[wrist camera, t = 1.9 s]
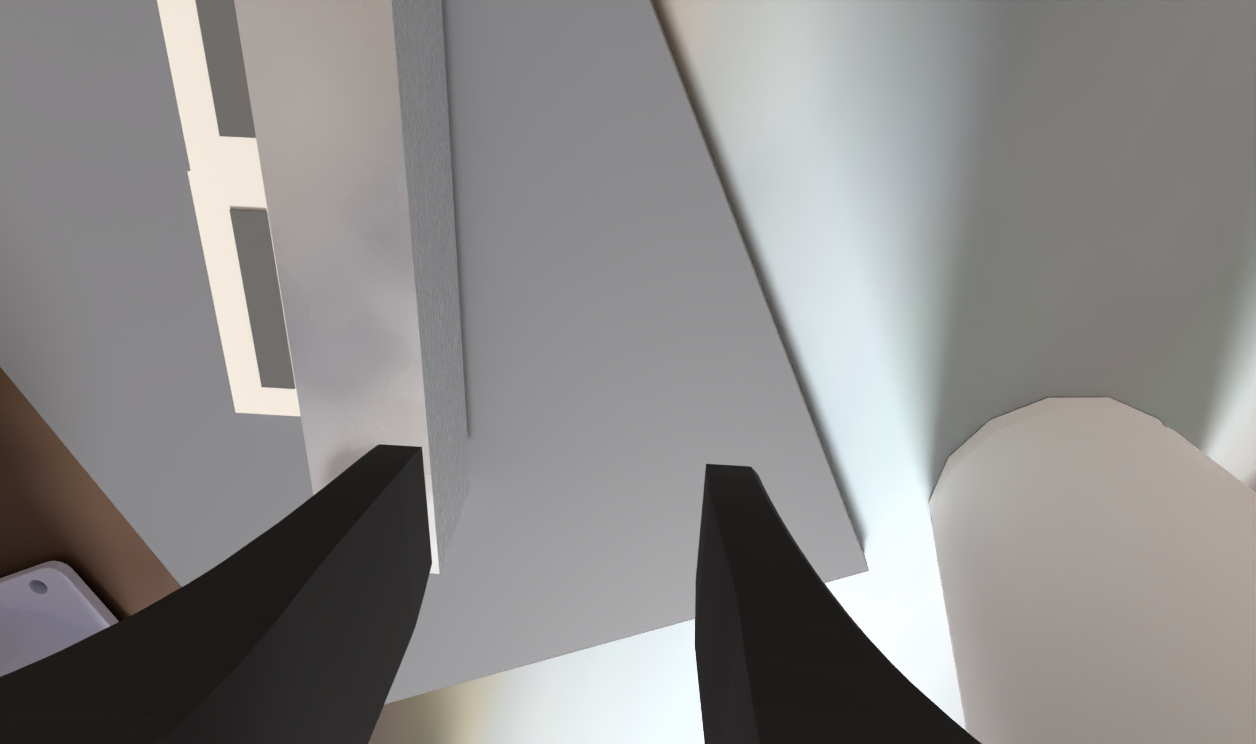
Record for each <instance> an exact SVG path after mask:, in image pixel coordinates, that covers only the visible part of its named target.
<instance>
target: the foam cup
mask: <svg viewBox="0 0 1256 744" xmlns="http://www.w3.org/2000/svg"><path fill="white" fill-rule="evenodd" d="M929 505H930V512H931V520H932V527H933V534H934V541H935V548H936V554H937V561H938V567H939V573H940V579H941V585H942V591H943V597H944V603H945V609H946V614H947V620H948V626H949V632H950V638H951V644H952V650H953V656H954V662H955V668H956V674H957V679H958V685H959V691H960V697H961V703H962V709H963V715H964V721H965V727H966V731H967V732H968V733H969V734H970V735H971V736H973V737H974V738H975V739H976V740H978V741H979V742H980V743H982V744H1256V493H1255V492H1254V491H1253V490H1251V489H1250V488H1249V487H1247V486H1246V485H1245V484H1243V483H1242V482H1241V481H1240V480H1238V479H1237V478H1236V477H1234V476H1233V475H1232V474H1230V473H1229V472H1228V471H1226V470H1225V469H1224V468H1223V467H1221V466H1220V465H1219V464H1217V463H1216V462H1215V461H1213V460H1212V459H1211V458H1210V457H1208V456H1207V455H1206V454H1204V453H1203V452H1202V451H1200V450H1199V449H1198V448H1196V447H1195V446H1194V445H1193V444H1191V443H1190V442H1189V441H1187V440H1186V439H1185V438H1183V437H1182V436H1181V435H1179V434H1178V433H1177V432H1176V431H1174V430H1172V429H1170V428H1168V427H1165V426H1164V425H1163V424H1162V423H1161V422H1160V421H1159V420H1158V419H1157V418H1155V417H1153V416H1150V415H1148V414H1146V413H1143V412H1141V411H1139V410H1137V409H1134V408H1132V407H1130V406H1128V405H1125V404H1123V403H1121V402H1118V401H1116V400H1114V399H1112V398H1109V397H1075V398H1046V399H1043V400H1041V401H1038V402H1036V403H1033V404H1030V405H1028V406H1025V407H1023V408H1020V409H1017V410H1015V411H1012V412H1009V413H1007V414H1004V415H1002V416H999V417H996V418H994V419H991V420H990V421H988V422H987V423H986V424H985V425H984V426H983V427H982V428H981V429H979V430H978V431H977V432H976V433H975V434H974V435H973V436H972V437H971V438H969V439H968V440H967V441H966V442H965V443H964V444H963V445H962V446H960V447H959V448H958V449H957V450H956V451H955V452H954V453H953V454H951V455H950V456H949V457H948V459H947V461H946V464H945V466H944V468H943V471H942V473H941V475H940V478H939V480H938V482H937V485H936V487H935V489H934V492H933V494H932V496H931V499H930V501H929Z"/></svg>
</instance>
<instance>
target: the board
mask: <svg viewBox="0 0 1256 744" xmlns="http://www.w3.org/2000/svg"><path fill="white" fill-rule="evenodd" d="M442 16H443V33H444V49H445V66H446V83H447V100H448V117H449V134H450V151H451V168H452V184H453V201H454V218H455V235H456V252H457V269H458V286H459V303H460V319H461V336H462V353H463V370H464V387H465V404H466V421H467V438H468V454H469V471H470V490H469V492H468V495H467V498H466V501H465V504H464V506H463V509H462V512H461V515H460V518H459V520H458V523H457V526H456V529H455V532H454V534H453V537H452V540H451V543H450V546H449V548H448V551H447V554H446V557H445V560H444V562H443V565H442V568H441V571H440V574H433V573H430V574H429V578H428V582H427V586H426V590H425V594H424V598H423V601H422V605H421V609H420V612H419V616H418V619H417V623H416V627H415V629H414V632H413V634H412V637H411V640H410V642H409V645H408V647H407V650H406V652H405V654H404V657H403V659H402V662H401V664H400V667H399V669H398V672H397V674H396V677H395V679H394V682H393V684H392V686H391V689H390V691H389V694H388V696H387V699H386V701H385V703H384V704H387V703H391V702H394V701H398V700H401V699H405V698H409V697H412V696H416V695H420V694H423V693H427V692H430V691H434V690H438V689H441V688H445V687H449V686H452V685H456V684H459V683H463V682H467V681H470V680H474V679H478V678H481V677H485V676H489V675H492V674H496V673H499V672H503V671H507V670H510V669H514V668H518V667H521V666H525V665H528V664H532V663H536V662H539V661H543V660H547V659H550V658H554V657H557V656H561V655H565V654H568V653H572V652H576V651H579V650H583V649H586V648H590V647H594V646H597V645H601V644H605V643H608V642H612V641H615V640H619V639H623V638H626V637H630V636H634V635H637V634H641V633H645V632H648V631H652V630H655V629H659V628H663V627H666V626H670V625H674V624H677V623H681V622H684V621H688V620H692V619H695V592H696V570H697V559H698V548H699V537H700V526H701V515H702V504H703V493H704V482H705V470H706V464H719V465H736V466H751V467H752V468H753V469H754V470H755V471H756V473H757V474H758V475H759V478H760V480H761V482H762V484H763V486H764V488H765V490H766V492H767V494H768V496H769V498H770V500H771V501H772V503H773V505H774V507H775V509H776V510H777V512H778V514H779V515H780V517H781V519H782V521H783V522H784V524H785V526H786V527H787V529H788V531H789V532H790V534H791V535H792V537H793V539H794V540H795V542H796V543H797V545H798V546H799V548H800V549H801V551H802V552H803V554H804V555H805V557H806V558H807V560H808V561H809V563H810V564H811V565H812V567H813V568H814V570H815V571H816V573H817V574H818V576H819V577H820V578H821V580H822V581H823V582H824V583H826V582H830V581H833V580H837V579H840V578H844V577H848V576H851V575H855V574H859V573H862V572H866V571H869V570H868V566H867V563H866V559H865V555H864V553H863V550H862V547H861V545H860V542H859V540H858V537H857V534H856V532H855V529H854V527H853V524H852V521H851V519H850V516H849V514H848V511H847V508H846V506H845V503H844V501H843V498H842V495H841V493H840V490H839V487H838V485H837V482H836V480H835V477H834V474H833V472H832V469H831V467H830V464H829V461H828V459H827V456H826V454H825V451H824V448H823V446H822V443H821V441H820V438H819V435H818V433H817V430H816V427H815V425H814V422H813V420H812V417H811V414H810V412H809V409H808V407H807V404H806V401H805V399H804V396H803V394H802V391H801V388H800V386H799V383H798V381H797V378H796V375H795V373H794V370H793V367H792V365H791V362H790V360H789V357H788V354H787V352H786V349H785V347H784V344H783V341H782V339H781V336H780V334H779V331H778V328H777V326H776V323H775V321H774V318H773V315H772V313H771V310H770V307H769V305H768V302H767V300H766V297H765V294H764V292H763V289H762V287H761V284H760V281H759V279H758V276H757V274H756V271H755V268H754V266H753V263H752V261H751V258H750V255H749V253H748V250H747V247H746V245H745V242H744V240H743V237H742V234H741V232H740V229H739V227H738V224H737V221H736V219H735V216H734V214H733V211H732V208H731V206H730V203H729V201H728V198H727V195H726V193H725V190H724V187H723V185H722V182H721V180H720V177H719V174H718V172H717V169H716V167H715V164H714V161H713V159H712V156H711V154H710V151H709V148H708V146H707V143H706V140H705V138H704V135H703V133H702V130H701V127H700V125H699V122H698V120H697V117H696V114H695V112H694V109H693V107H692V104H691V101H690V99H689V96H688V94H687V91H686V88H685V86H684V83H683V80H682V78H681V75H680V73H679V70H678V67H677V65H676V62H675V60H674V57H673V54H672V52H671V49H670V47H669V44H668V41H667V39H666V36H665V34H664V31H663V28H662V26H661V23H660V20H659V18H658V15H657V13H656V10H655V7H654V5H653V2H652V0H442ZM188 170H190V165H189V160H188V155H187V150H186V145H185V140H184V135H183V130H182V125H181V120H180V115H179V110H178V105H177V100H176V95H175V89H174V84H173V79H172V74H171V69H170V64H169V59H168V54H167V49H166V44H165V39H164V34H163V29H162V24H161V19H160V14H159V9H158V4H157V0H0V367H1V368H2V369H3V371H4V372H5V373H6V374H7V376H8V377H9V378H10V379H11V380H12V382H13V383H14V384H15V385H16V386H17V388H18V389H19V390H20V391H21V393H22V394H23V395H24V396H25V397H26V399H27V400H28V401H29V402H30V403H31V405H32V406H33V407H34V408H35V409H36V411H37V412H38V413H39V414H40V416H41V417H42V418H43V419H44V420H45V422H46V423H47V424H48V425H49V426H50V428H51V429H52V430H53V431H54V433H55V434H56V435H57V436H58V437H59V439H60V440H61V441H62V442H63V443H64V445H65V446H66V447H67V448H68V450H69V451H70V452H71V453H72V454H73V456H74V457H75V458H76V459H77V460H78V462H79V463H80V464H81V465H82V466H83V468H84V469H85V470H86V471H87V473H88V474H89V475H90V476H91V477H92V479H93V480H94V481H95V482H96V483H97V485H98V486H99V487H100V488H101V490H102V491H103V492H104V493H105V494H106V496H107V497H108V498H109V499H110V500H111V502H112V503H113V504H114V505H115V506H116V508H117V509H118V510H119V511H120V513H121V514H122V515H123V516H124V517H125V519H126V520H127V521H128V522H129V523H130V525H131V526H132V527H133V528H134V530H135V531H136V532H137V533H138V534H139V536H140V537H141V538H142V539H143V540H144V542H145V543H146V544H147V545H148V546H149V548H150V549H151V550H152V551H153V553H154V554H155V555H156V556H157V557H158V559H159V560H160V561H161V562H162V563H163V565H164V566H165V567H166V568H167V570H168V571H169V572H170V573H171V574H172V576H173V577H174V578H175V579H176V580H177V582H178V583H179V584H180V585H181V586H182V587H183V586H185V585H187V584H188V583H190V582H191V581H193V580H195V579H196V578H198V577H200V576H201V575H203V574H204V573H206V572H208V571H209V570H211V569H212V568H214V567H215V566H217V565H218V564H220V563H221V562H223V561H224V560H226V559H227V558H229V557H230V556H231V555H233V554H234V553H236V552H237V551H239V550H240V549H241V548H243V547H244V546H246V545H247V544H249V543H250V542H251V541H253V540H254V539H256V538H257V537H259V536H260V535H261V534H263V533H264V532H266V531H267V530H269V529H270V528H271V527H273V526H274V525H276V524H277V523H278V522H280V521H281V520H282V519H284V518H285V517H286V516H288V515H289V514H290V513H292V512H293V511H294V510H295V509H297V508H298V507H299V506H301V505H302V504H303V503H304V502H306V501H307V500H308V499H310V498H311V497H312V496H313V490H312V484H311V477H310V471H309V465H308V459H307V452H306V446H305V440H304V434H303V427H302V421H301V416H284V415H267V414H250V413H236V412H235V407H234V402H233V397H232V392H231V387H230V382H229V377H228V372H227V367H226V362H225V357H224V352H223V347H222V342H221V337H220V332H219V327H218V322H217V317H216V312H215V307H214V302H213V297H212V292H211V287H210V282H209V277H208V272H207V267H206V262H205V257H204V252H203V247H202V242H201V237H200V232H199V227H198V222H197V217H196V212H195V207H194V202H193V197H192V192H191V187H190V182H189V177H188V172H187V171H188Z"/></svg>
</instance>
